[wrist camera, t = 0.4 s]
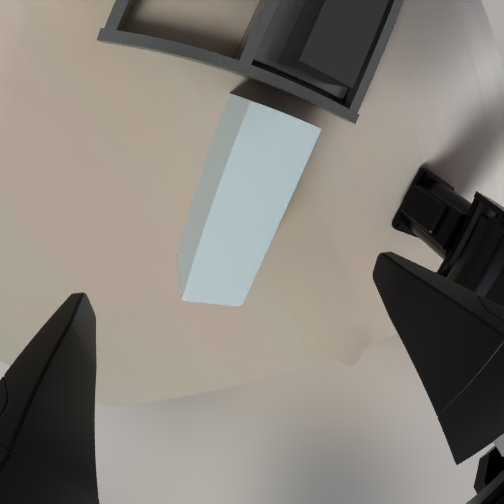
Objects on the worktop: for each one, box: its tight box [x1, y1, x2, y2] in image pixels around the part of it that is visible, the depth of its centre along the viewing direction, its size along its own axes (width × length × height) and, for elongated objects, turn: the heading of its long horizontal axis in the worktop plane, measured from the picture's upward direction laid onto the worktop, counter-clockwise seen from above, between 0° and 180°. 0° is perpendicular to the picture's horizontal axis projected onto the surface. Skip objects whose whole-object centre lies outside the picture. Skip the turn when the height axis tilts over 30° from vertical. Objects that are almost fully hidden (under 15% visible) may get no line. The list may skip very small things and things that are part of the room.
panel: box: [176, 93, 321, 306], centre depth 18 cm, size 4×12×5 cm, turn 157°
